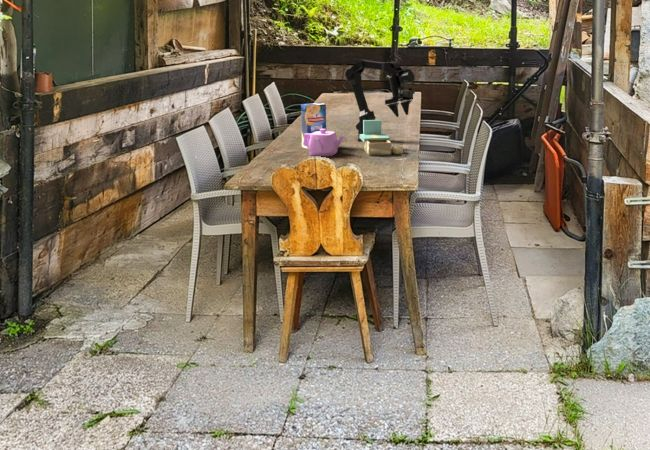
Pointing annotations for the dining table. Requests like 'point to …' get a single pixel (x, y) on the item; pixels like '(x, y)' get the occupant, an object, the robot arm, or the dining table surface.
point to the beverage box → (312, 118)
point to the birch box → (377, 147)
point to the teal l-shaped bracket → (372, 131)
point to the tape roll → (397, 149)
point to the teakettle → (322, 143)
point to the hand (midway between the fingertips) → (402, 115)
